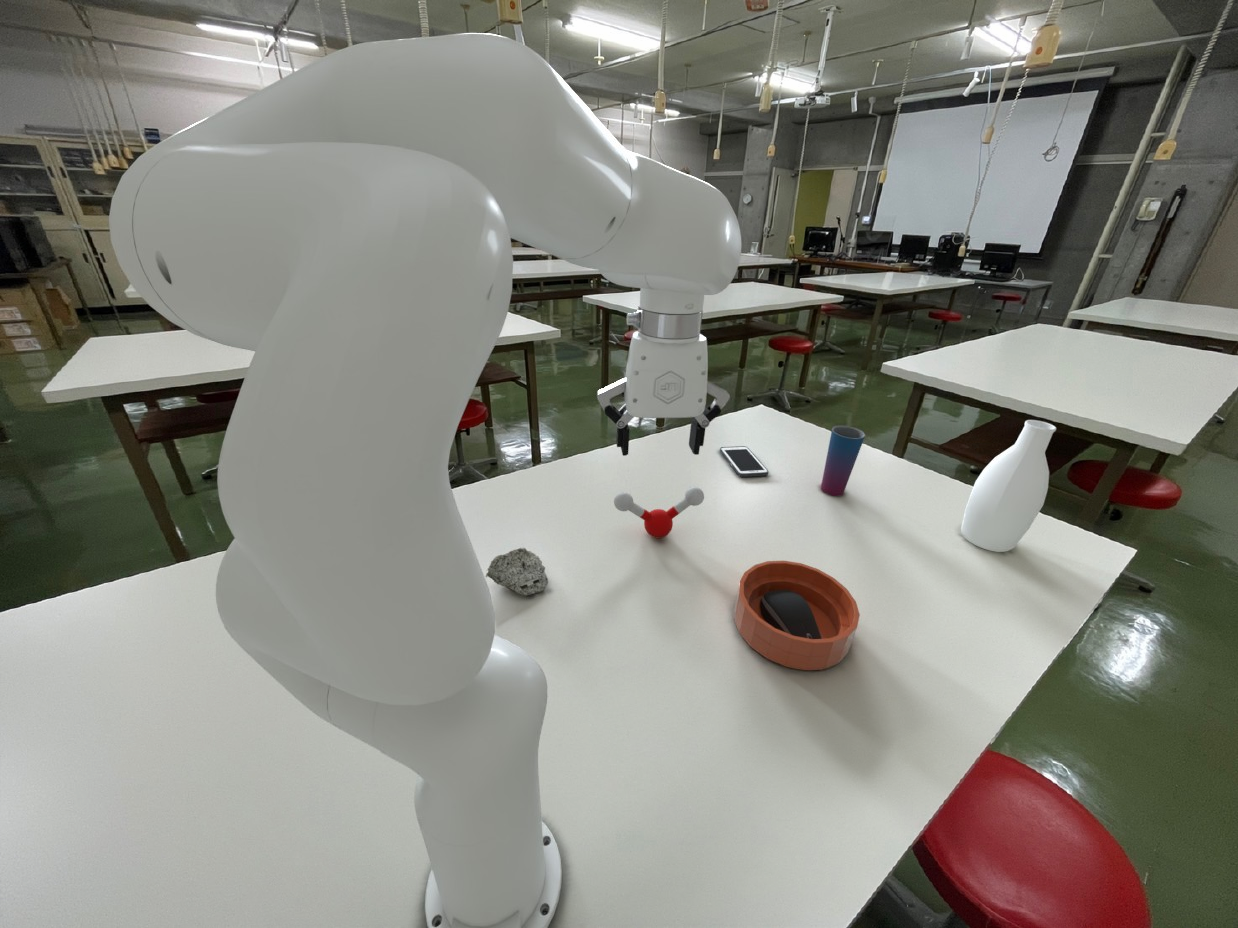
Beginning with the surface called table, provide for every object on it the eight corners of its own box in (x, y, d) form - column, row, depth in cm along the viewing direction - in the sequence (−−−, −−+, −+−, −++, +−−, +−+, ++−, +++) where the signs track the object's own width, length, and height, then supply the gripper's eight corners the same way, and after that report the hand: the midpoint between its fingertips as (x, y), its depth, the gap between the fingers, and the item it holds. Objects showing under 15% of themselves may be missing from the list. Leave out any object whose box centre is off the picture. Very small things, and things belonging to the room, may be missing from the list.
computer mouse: (791, 660, 72) (797, 640, 70) (750, 601, 82) (754, 582, 80) (833, 651, 74) (839, 631, 72) (787, 594, 84) (792, 576, 82)
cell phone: (745, 449, 134) (746, 445, 133) (769, 476, 121) (770, 472, 120) (718, 450, 132) (719, 447, 132) (739, 477, 120) (739, 474, 119)
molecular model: (691, 520, 103) (696, 478, 99) (703, 536, 98) (710, 493, 94) (610, 532, 99) (612, 489, 94) (618, 550, 94) (620, 505, 89)
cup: (810, 486, 118) (825, 428, 111) (831, 480, 120) (847, 423, 113) (832, 500, 112) (849, 440, 105) (854, 494, 115) (872, 435, 108)
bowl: (871, 668, 72) (883, 639, 69) (755, 676, 70) (762, 646, 67) (817, 585, 87) (825, 558, 84) (720, 589, 85) (725, 562, 82)
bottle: (965, 550, 98) (1020, 432, 85) (946, 519, 107) (993, 409, 95) (1029, 561, 95) (1094, 441, 83) (1004, 528, 105) (1060, 416, 93)
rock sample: (527, 595, 77) (509, 543, 79) (494, 612, 80) (477, 561, 82) (567, 584, 86) (549, 537, 88) (535, 599, 89) (519, 553, 91)
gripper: (600, 330, 56) (597, 464, 64) (749, 332, 58) (728, 462, 66) (596, 316, 62) (594, 439, 70) (730, 318, 64) (713, 438, 72)
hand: (659, 450), depth 68 cm, fingers open, 9 cm apart
